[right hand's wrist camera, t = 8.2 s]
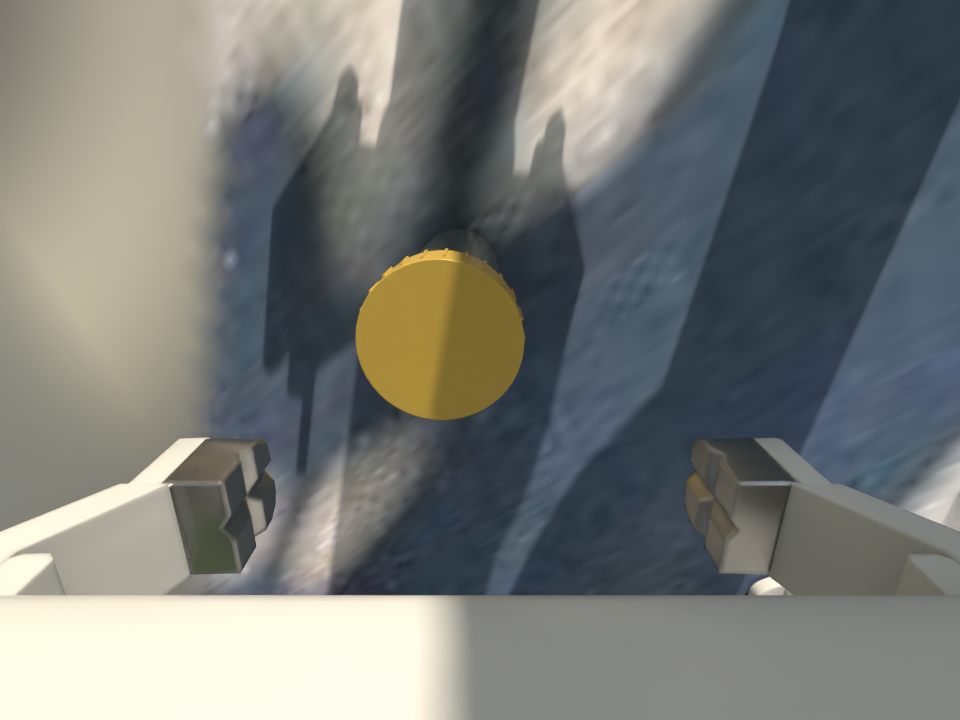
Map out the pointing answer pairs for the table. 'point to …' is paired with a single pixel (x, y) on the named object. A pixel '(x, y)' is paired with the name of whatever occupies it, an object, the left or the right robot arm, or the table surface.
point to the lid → (440, 335)
